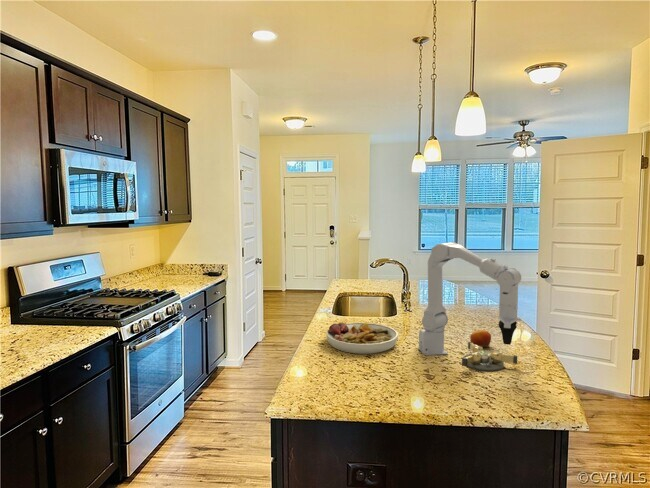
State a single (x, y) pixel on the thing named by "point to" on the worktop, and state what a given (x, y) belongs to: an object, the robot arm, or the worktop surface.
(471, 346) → the knob back
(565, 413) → the worktop surface
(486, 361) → the level plate
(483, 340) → the fruit
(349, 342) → the bowl
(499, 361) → the knob right
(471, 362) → the knob left
